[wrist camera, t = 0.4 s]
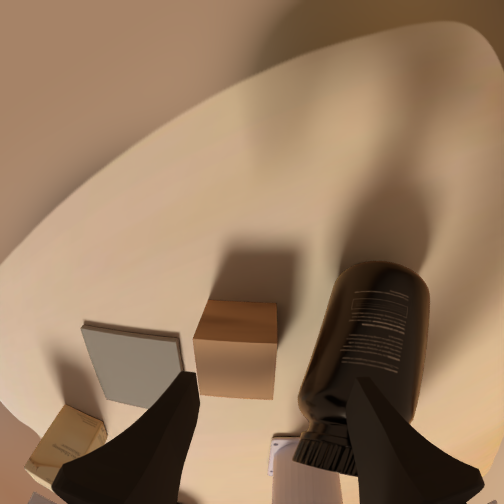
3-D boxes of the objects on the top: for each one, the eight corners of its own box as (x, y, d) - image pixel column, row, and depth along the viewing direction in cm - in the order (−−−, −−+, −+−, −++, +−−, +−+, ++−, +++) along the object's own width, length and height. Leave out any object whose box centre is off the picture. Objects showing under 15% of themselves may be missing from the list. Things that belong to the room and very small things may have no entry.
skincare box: (103, 420, 29) (66, 493, 17) (108, 437, 30) (77, 505, 19) (63, 402, 29) (21, 467, 17) (70, 421, 30) (34, 481, 19)
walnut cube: (273, 355, 23) (272, 399, 18) (212, 352, 23) (200, 394, 19) (276, 302, 21) (277, 343, 17) (208, 299, 22) (192, 338, 17)
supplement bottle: (317, 288, 21) (254, 448, 14) (373, 238, 16) (309, 465, 9) (387, 327, 21) (345, 475, 14) (451, 292, 16) (421, 485, 9)
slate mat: (190, 411, 26) (189, 415, 26) (108, 395, 27) (106, 399, 26) (177, 338, 23) (175, 342, 22) (83, 324, 23) (80, 328, 23)
